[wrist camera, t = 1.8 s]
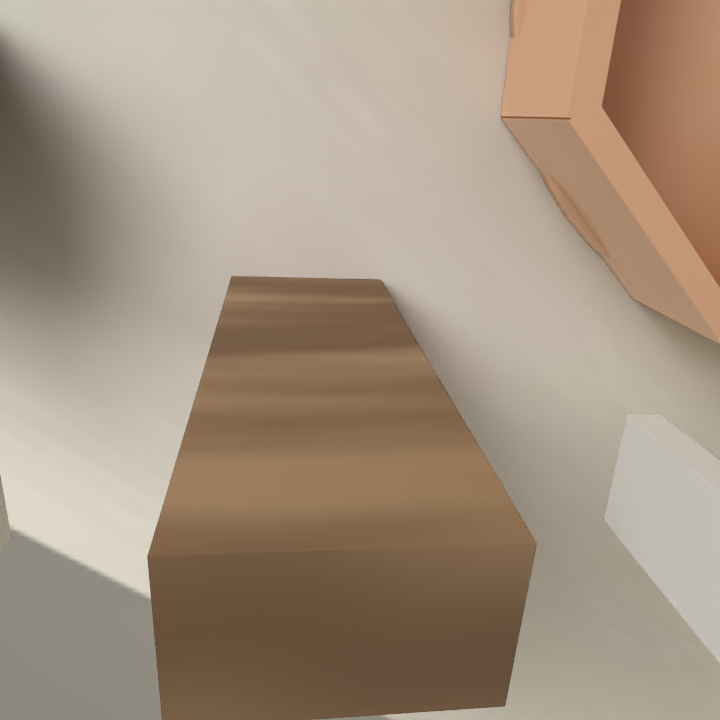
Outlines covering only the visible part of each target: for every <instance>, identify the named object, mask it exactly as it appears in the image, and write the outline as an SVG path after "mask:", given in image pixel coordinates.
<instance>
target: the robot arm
mask: <svg viewBox="0 0 720 720" xmlns="http://www.w3.org/2000/svg"><path fill="white" fill-rule="evenodd" d="M604 521H605V522H606V523H607V525H608V526H609V527H610V528H611V530H612V531H613V532H614V533H615V535H616V536H617V537H618V538H619V540H620V541H621V542H622V543H623V544H624V546H625V547H626V548H627V549H628V551H629V552H630V553H631V554H632V556H633V557H634V558H635V559H636V561H637V562H638V563H639V564H640V566H641V567H642V568H643V569H644V570H645V572H646V573H647V574H648V575H649V577H650V578H651V579H652V580H653V582H654V583H655V584H656V585H657V587H658V588H659V589H660V590H661V592H662V593H663V594H664V595H665V597H666V598H667V599H668V600H669V601H670V603H671V604H672V605H673V606H674V608H675V609H676V610H677V611H678V613H679V614H680V615H681V616H682V618H683V619H684V620H685V621H686V623H687V624H688V625H689V626H690V627H691V629H692V630H693V631H694V632H695V634H696V635H697V636H698V637H699V639H700V640H701V641H702V642H703V644H704V645H705V646H706V647H707V649H708V650H709V651H710V652H711V654H712V655H713V656H714V657H715V658H716V660H717V661H718V662H719V663H720V460H719V459H718V458H717V457H715V456H714V455H713V454H711V453H710V452H709V451H707V450H706V449H705V448H704V447H702V446H701V445H700V444H698V443H697V442H696V441H695V440H693V439H692V438H691V437H689V436H688V435H687V434H685V433H684V432H683V431H682V430H680V429H679V428H678V427H676V426H675V425H674V424H672V423H671V422H670V421H669V420H667V419H666V418H665V417H663V416H662V415H661V414H627V418H626V423H625V427H624V431H623V436H622V440H621V445H620V449H619V454H618V458H617V462H616V467H615V471H614V476H613V480H612V484H611V489H610V493H609V498H608V502H607V506H606V511H605V515H604ZM10 536H11V533H10V527H9V522H8V516H7V510H6V505H5V499H4V493H3V488H2V482H1V477H0V551H1V550H2V548H3V547H4V545H5V544H6V542H7V541H8V539H9V538H10Z"/></svg>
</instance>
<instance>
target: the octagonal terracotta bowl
mask: <svg viewBox="0 0 720 720" xmlns="http://www.w3.org/2000/svg"><path fill="white" fill-rule="evenodd" d="M501 116H504V117H502V118H501V119H502V121H503V122H504V123H505V125H506V126H507V128H508V129H509V130H510V132H511V133H512V134H513V136H514V137H515V139H516V140H517V141H518V143H519V144H520V145H521V147H522V148H523V150H524V151H525V152H526V154H527V155H528V156H529V158H530V159H531V160H532V162H533V163H534V165H535V166H536V167H537V169H538V170H539V171H540V173H541V175H542V178H543V180H544V182H545V184H546V187H547V188H548V190H549V192H550V193H551V195H552V196H553V198H554V200H555V201H556V203H557V204H558V206H559V208H560V209H561V211H562V212H563V214H564V216H565V217H566V219H567V220H568V221H569V222H570V223H571V225H572V226H573V227H574V228H575V229H576V230H577V232H578V233H579V234H580V235H581V236H582V237H583V239H584V240H585V241H586V242H587V243H588V244H589V245H590V246H591V247H592V248H593V249H594V250H595V251H597V252H598V253H599V254H600V255H601V256H602V258H603V259H604V260H605V262H606V263H607V265H608V266H609V267H610V269H611V270H612V271H613V273H614V274H615V276H616V277H617V278H618V280H619V281H620V282H621V284H622V285H623V286H624V288H625V289H626V291H627V292H628V293H629V295H630V296H631V297H632V299H634V300H636V301H638V302H640V303H642V304H644V305H646V306H648V307H649V308H651V309H653V310H655V311H657V312H659V313H661V314H663V315H665V316H666V317H668V318H670V319H672V320H674V321H676V322H678V323H680V324H682V325H683V326H685V327H687V328H689V329H691V330H693V331H695V332H697V333H699V334H700V335H702V336H704V337H706V338H708V339H710V340H712V341H714V342H716V343H717V344H719V345H720V0H511V4H510V46H509V54H508V62H507V70H506V77H505V85H504V93H503V101H502V109H501Z"/></svg>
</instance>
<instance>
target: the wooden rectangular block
mask: <svg viewBox="0 0 720 720" xmlns="http://www.w3.org/2000/svg"><path fill="white" fill-rule="evenodd" d="M536 544H537V543H536V542H535V540H534V538H533V536H532V535H531V533H530V531H529V530H528V528H527V526H526V525H525V523H524V521H523V520H522V518H521V516H520V515H519V513H518V511H517V509H516V508H515V506H514V504H513V503H512V501H511V499H510V498H509V496H508V494H507V493H506V491H505V489H504V488H503V486H502V484H501V482H500V481H499V479H498V477H497V476H496V474H495V472H494V471H493V469H492V467H491V466H490V464H489V462H488V461H487V459H486V457H485V455H484V454H483V452H482V450H481V449H480V447H479V445H478V444H477V442H476V440H475V439H474V437H473V435H472V434H471V432H470V430H469V428H468V427H467V425H466V423H465V422H464V420H463V418H462V417H461V415H460V413H459V412H458V410H457V408H456V406H455V405H454V403H453V401H452V400H451V398H450V396H449V395H448V393H447V391H446V390H445V388H444V386H443V385H442V383H441V381H440V379H439V378H438V376H437V374H436V373H435V371H434V369H433V368H432V366H431V364H430V363H429V361H428V359H427V358H426V356H425V354H424V352H423V351H422V349H421V347H420V346H419V344H418V342H417V341H416V339H415V337H414V336H413V334H412V332H411V331H410V329H409V327H408V325H407V324H406V322H405V320H404V319H403V317H402V315H401V314H400V312H399V310H398V309H397V307H396V305H395V303H394V302H393V300H392V298H391V297H390V295H389V293H388V292H387V290H386V288H385V287H384V285H383V283H382V282H381V280H371V279H328V278H285V277H242V276H232V277H231V280H230V284H229V287H228V290H227V294H226V297H225V300H224V304H223V307H222V310H221V314H220V317H219V320H218V324H217V327H216V330H215V334H214V337H213V340H212V344H211V347H210V350H209V354H208V357H207V360H206V363H205V367H204V370H203V373H202V377H201V380H200V383H199V387H198V390H197V393H196V397H195V400H194V403H193V407H192V410H191V413H190V417H189V420H188V423H187V427H186V430H185V433H184V437H183V440H182V443H181V447H180V450H179V453H178V457H177V460H176V463H175V467H174V470H173V473H172V477H171V480H170V483H169V487H168V490H167V493H166V497H165V500H164V503H163V507H162V510H161V513H160V517H159V520H158V523H157V526H156V530H155V533H154V536H153V540H152V543H151V546H150V550H149V553H148V556H147V558H148V569H149V580H150V591H151V602H152V612H153V624H154V635H155V646H156V657H157V669H158V680H159V691H160V702H161V713H162V720H313V719H329V718H343V717H358V716H372V715H386V714H401V713H415V712H430V711H444V710H458V709H473V708H487V707H502V706H505V704H506V699H507V694H508V689H509V683H510V678H511V673H512V668H513V663H514V658H515V652H516V647H517V642H518V637H519V632H520V627H521V622H522V616H523V611H524V606H525V601H526V596H527V591H528V585H529V580H530V575H531V570H532V565H533V560H534V554H535V549H536Z"/></svg>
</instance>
